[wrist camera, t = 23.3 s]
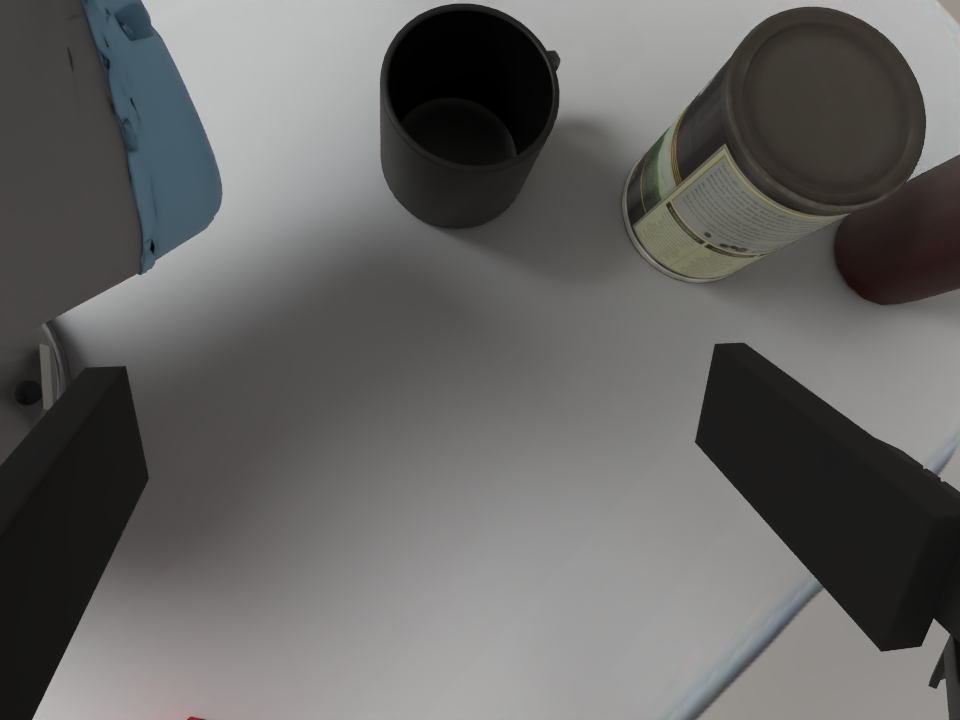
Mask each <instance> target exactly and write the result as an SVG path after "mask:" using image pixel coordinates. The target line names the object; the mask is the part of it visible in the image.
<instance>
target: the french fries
mask: <svg viewBox="0 0 960 720" xmlns="http://www.w3.org/2000/svg"><path fill="white" fill-rule="evenodd" d="M187 720H204V719H199V718H194V717H190V718H188V719H187Z"/></svg>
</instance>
